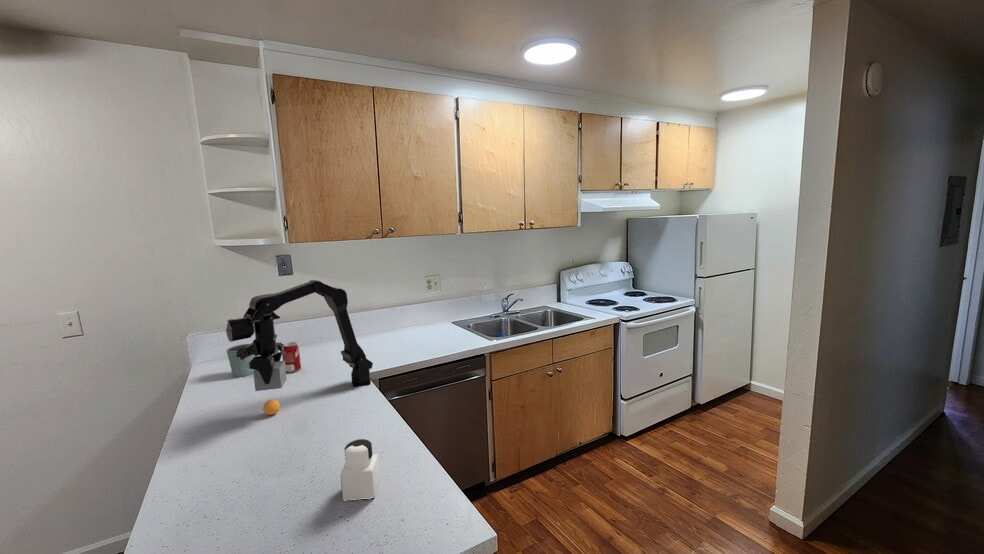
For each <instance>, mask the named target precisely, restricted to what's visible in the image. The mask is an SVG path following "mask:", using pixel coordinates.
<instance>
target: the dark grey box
mask: <svg viewBox="0 0 984 554" xmlns="http://www.w3.org/2000/svg"><path fill="white" fill-rule="evenodd" d="M274 363H275V364H274V368H273V372H272V375H271V379H270V383H269V384H267V385H266V384H265V383H264V381H263V379H262V377H261V375H260V373H259V371H257V370H254V371H253V382H254V389H255V392H259V391H269V390H276V389H277V390H278V389H282V388H283V387H284V385H285V383H286V381H287V379H288V378H287V372H286V369H285V361H283V360H280V361H276V362H274Z"/></svg>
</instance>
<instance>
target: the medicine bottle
mask: <svg viewBox="0 0 984 554" xmlns="http://www.w3.org/2000/svg"><path fill="white" fill-rule="evenodd" d="M372 444H373V443H372V442H371V441H370V440H369V439H366V438H360V439H356V440H352V441H350V442H349V443H347V444H346V445H345V447H344V457H345V458H344V459H345V463H344V465H343V468H342V469H341V471H340V483H341V484H340V485H341V494H342V501H343V500H351V499H352V500H353V499H361V498H370V497H374V496H375V497H376V495H375V493H376V494H377V492H376V490H377V491H378V488H377V486H378V487H379V485H378V483H379V484H380V481H379V479H380V480H381V478H380V467H379V454H377V453H375V454H374V453H373V445H372Z"/></svg>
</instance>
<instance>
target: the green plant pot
mask: <svg viewBox="0 0 984 554" xmlns="http://www.w3.org/2000/svg"><path fill="white" fill-rule="evenodd" d="M249 344H250V343H242V344H236V345H233V346H231V347H228V348H226V355H227V358H228V362H229V367H230V369H231V370H230V371H231V375H232V377H233V378H234V377H242V378H246V376H247V377H250V376H253V375H254V374H253V371H254V369H250V368H249V362H250V361H251V360H252V359H253V358H254V357H255V356H254V354H253V355H251V356H249V357H246V358H245V359H243V360H241V359H240V358H239V357H237V356H236V355H237V354H236V352H237V349H238V348H241V347H242V346H246V345H249ZM252 374H253V375H252ZM249 375H250V376H249Z"/></svg>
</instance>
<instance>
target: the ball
mask: <svg viewBox="0 0 984 554" xmlns="http://www.w3.org/2000/svg"><path fill="white" fill-rule="evenodd" d="M262 409H263V412H264V413H265V414H266V415H267V416H274V415H275V414H277V413H278V412H279V411H280V409H281V404H280V402H279V401H278V400H277V399H269V400H267V401H266V402H264V404H263V407H262Z"/></svg>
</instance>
